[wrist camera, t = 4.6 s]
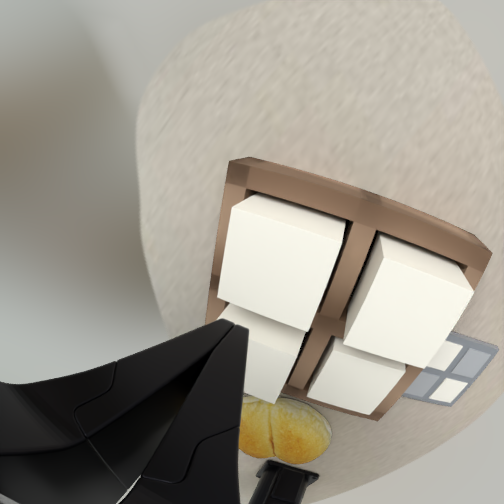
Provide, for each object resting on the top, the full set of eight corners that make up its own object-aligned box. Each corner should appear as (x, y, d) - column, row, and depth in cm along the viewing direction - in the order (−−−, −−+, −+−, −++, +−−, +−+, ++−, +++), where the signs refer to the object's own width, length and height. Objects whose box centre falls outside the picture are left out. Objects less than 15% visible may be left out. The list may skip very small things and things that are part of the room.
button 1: (372, 380, 16) (369, 415, 14) (316, 363, 17) (306, 396, 15) (402, 336, 14) (405, 371, 12) (339, 315, 15) (333, 349, 13)
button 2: (417, 329, 13) (424, 368, 10) (348, 306, 14) (342, 343, 11) (454, 260, 11) (474, 292, 8) (378, 230, 12) (383, 257, 9)
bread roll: (329, 447, 21) (320, 481, 18) (242, 431, 25) (227, 461, 21) (339, 398, 18) (330, 441, 15) (230, 381, 22) (208, 416, 18)
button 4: (318, 296, 14) (307, 331, 11) (242, 268, 15) (217, 297, 12) (345, 219, 12) (342, 242, 10) (258, 192, 13) (232, 206, 10)
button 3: (288, 368, 17) (274, 404, 14) (227, 344, 18) (206, 375, 15) (309, 319, 15) (296, 356, 12) (237, 293, 16) (213, 323, 13)
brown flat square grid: (379, 394, 17) (377, 421, 15) (217, 336, 20) (201, 358, 18) (474, 235, 11) (492, 253, 9) (249, 156, 14) (229, 160, 12)
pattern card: (450, 402, 15) (450, 407, 15) (388, 388, 16) (388, 393, 16) (497, 346, 12) (499, 350, 12) (433, 325, 14) (435, 330, 13)
